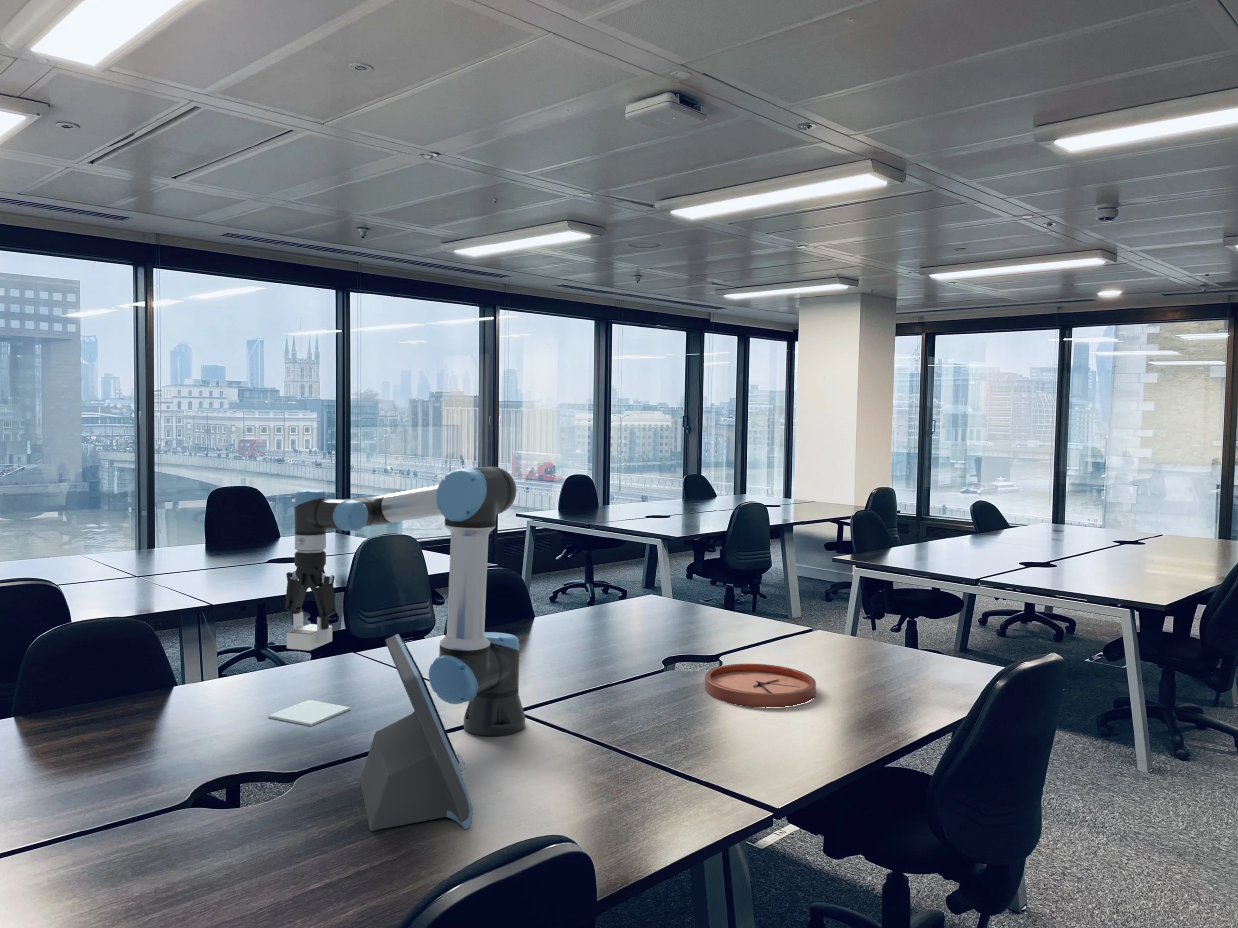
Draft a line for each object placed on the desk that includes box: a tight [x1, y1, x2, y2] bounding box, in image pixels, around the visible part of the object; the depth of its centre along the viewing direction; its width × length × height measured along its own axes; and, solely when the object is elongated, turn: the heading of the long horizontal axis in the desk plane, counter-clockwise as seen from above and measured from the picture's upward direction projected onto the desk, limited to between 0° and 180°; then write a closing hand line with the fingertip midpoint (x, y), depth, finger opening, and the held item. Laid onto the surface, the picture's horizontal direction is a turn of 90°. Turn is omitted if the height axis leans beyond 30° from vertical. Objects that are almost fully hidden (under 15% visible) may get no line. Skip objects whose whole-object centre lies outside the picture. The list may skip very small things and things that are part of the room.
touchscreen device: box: [359, 633, 474, 832], centre depth 171 cm, size 35×20×30 cm, turn 21°
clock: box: [704, 663, 817, 709], centre depth 247 cm, size 31×4×31 cm
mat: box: [267, 699, 351, 727], centre depth 221 cm, size 14×14×1 cm
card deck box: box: [286, 623, 333, 651], centre depth 220 cm, size 10×6×4 cm, turn 167°
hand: (310, 639), depth 220 cm, fingers closed on card deck box, 7 cm apart
